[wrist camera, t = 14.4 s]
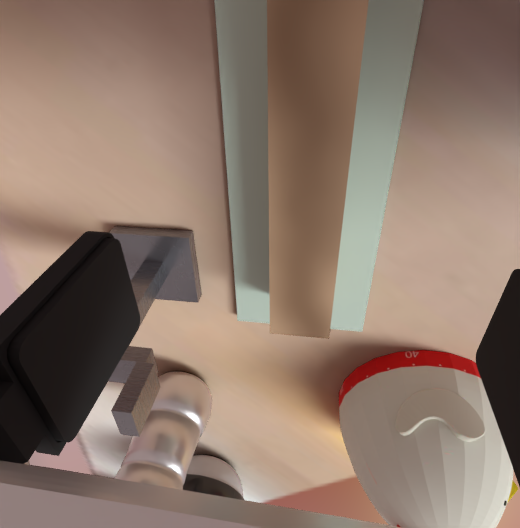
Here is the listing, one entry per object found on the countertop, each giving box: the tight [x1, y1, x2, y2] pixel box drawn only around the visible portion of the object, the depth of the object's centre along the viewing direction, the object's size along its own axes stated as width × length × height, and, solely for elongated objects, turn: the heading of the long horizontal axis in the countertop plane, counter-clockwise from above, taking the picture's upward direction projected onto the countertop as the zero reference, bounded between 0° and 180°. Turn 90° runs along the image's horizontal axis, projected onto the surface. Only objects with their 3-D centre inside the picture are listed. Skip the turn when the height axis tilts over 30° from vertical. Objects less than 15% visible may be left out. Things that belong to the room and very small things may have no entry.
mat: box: [214, 0, 424, 332], centre depth 22 cm, size 10×32×1 cm, turn 1°
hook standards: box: [108, 226, 202, 437], centre depth 18 cm, size 7×28×14 cm, turn 1°
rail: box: [267, 0, 369, 339], centre depth 20 cm, size 4×26×4 cm, turn 1°
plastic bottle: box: [115, 371, 212, 490], centre depth 31 cm, size 6×7×20 cm
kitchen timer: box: [339, 350, 518, 528], centre depth 30 cm, size 14×14×15 cm
